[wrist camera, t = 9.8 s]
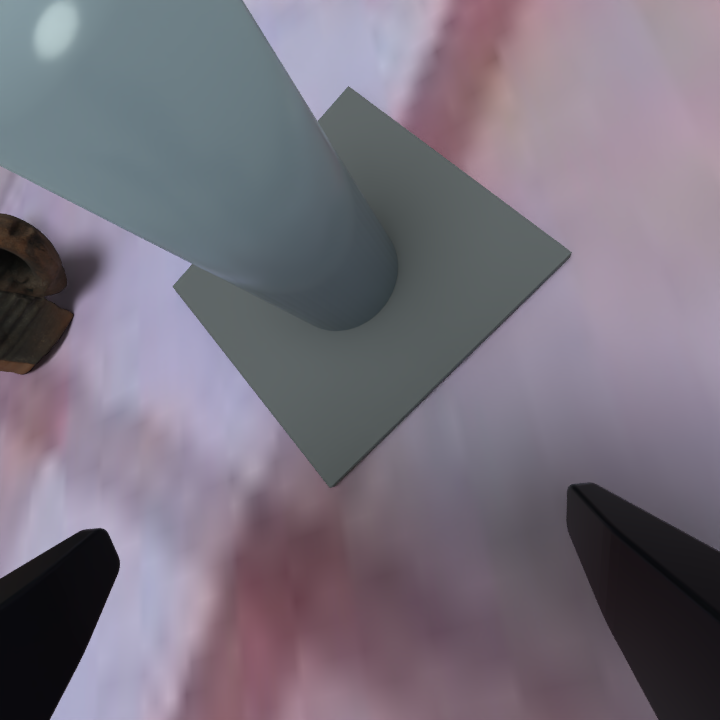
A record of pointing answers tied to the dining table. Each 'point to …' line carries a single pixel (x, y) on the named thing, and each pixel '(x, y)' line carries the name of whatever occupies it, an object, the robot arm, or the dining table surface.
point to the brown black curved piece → (28, 295)
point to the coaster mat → (401, 312)
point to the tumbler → (191, 147)
